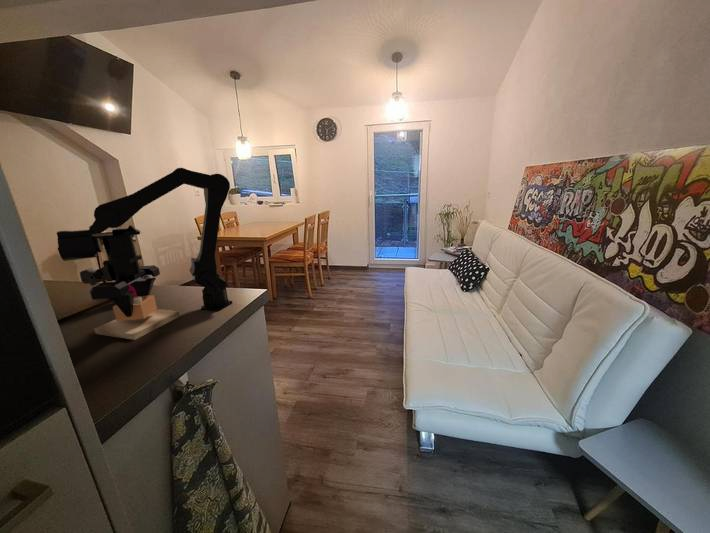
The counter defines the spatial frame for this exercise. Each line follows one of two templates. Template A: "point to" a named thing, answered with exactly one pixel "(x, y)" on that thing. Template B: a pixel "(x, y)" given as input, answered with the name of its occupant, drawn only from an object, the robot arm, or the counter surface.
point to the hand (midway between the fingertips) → (136, 310)
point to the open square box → (138, 309)
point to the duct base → (137, 324)
